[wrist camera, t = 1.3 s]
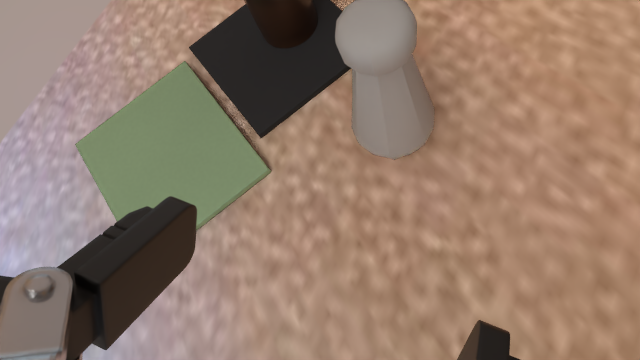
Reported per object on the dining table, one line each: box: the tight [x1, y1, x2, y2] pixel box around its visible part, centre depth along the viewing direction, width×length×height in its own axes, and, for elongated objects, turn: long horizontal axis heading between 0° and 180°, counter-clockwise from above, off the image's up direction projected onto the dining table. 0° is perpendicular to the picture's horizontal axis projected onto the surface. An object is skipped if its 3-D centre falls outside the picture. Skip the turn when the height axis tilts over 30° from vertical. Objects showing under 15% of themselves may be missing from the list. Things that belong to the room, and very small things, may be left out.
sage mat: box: [75, 61, 271, 231], centre depth 40 cm, size 12×14×1 cm
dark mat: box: [189, 0, 351, 138], centre depth 42 cm, size 12×12×1 cm
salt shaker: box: [335, 0, 434, 160], centre depth 31 cm, size 6×6×13 cm
